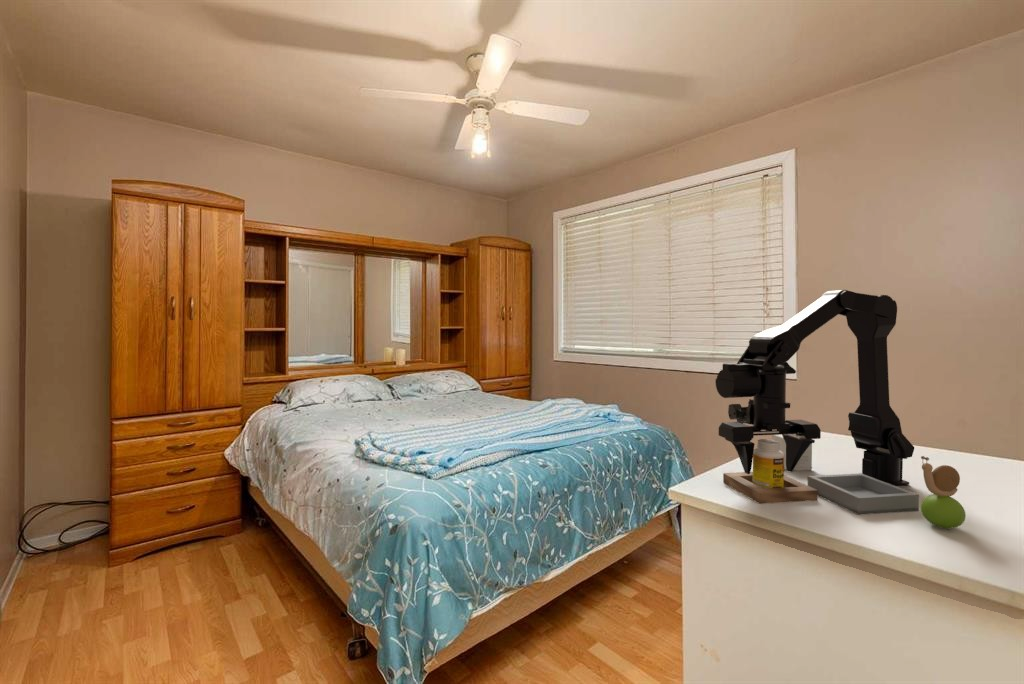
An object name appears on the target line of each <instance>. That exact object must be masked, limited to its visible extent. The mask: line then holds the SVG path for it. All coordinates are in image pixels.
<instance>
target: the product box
mask: <svg viewBox="0 0 1024 684" xmlns="http://www.w3.org/2000/svg"><path fill="white" fill-rule="evenodd" d="M771 440H775V441H778V442H780V450H779V451H781V452H783V454H784V471H785V470H786V471H787V469H786V443H785V440H784V438H783V436H782V434H781V435H771ZM812 462H813V443H811V444H810V446H809V447H808V448H807V449H806V451H805V452H804V453H803V455H802V456H801V458H800V459H799V461H798V463H797V464H796V466H795V468H794V469H793V471H811V470H812V469H813V467H812V466H813V464H812Z"/></svg>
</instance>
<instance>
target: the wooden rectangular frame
mask: <svg viewBox="0 0 1024 684" xmlns="http://www.w3.org/2000/svg"><path fill="white" fill-rule="evenodd" d="M722 474H723V483H724V484H725V483H726V484H725V485H727V486H728V487H730V486H731V488H732V489H734V490H735V489H736V490H735V491H737V492H739V493H740V492H741V493H740V494H742V495H743V496H746V497H748V498H749V499H750V500H752V501H754V502H756V503H758V504H760V505H762V504H779V503H780V504H781V503H795V502H796V503H798V502H799V503H800V502H809V501H810V502H814V501H817V502H818V500H819V498H818V497H819V496H818V490H816V489H814V488H812V487H810V486H808V484H805V483H804V482H801V481H799V480H797V479H795V478H792V477H790V476H788V475H785V474H784V487H783V488H767V489H762V488H761V487H759V486H757V485H755V484H753V471H750V474H747V473H745V471H739V472H724V473H722Z"/></svg>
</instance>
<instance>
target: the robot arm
mask: <svg viewBox="0 0 1024 684" xmlns="http://www.w3.org/2000/svg"><path fill="white" fill-rule="evenodd" d="M838 315H839V316H844V317H845V318H846V323H847V327H848V328H849V329H850V331H851V333H852V334H853V335H854V336H855V338H856V344H857V348H856V349H857V361H858V362H857V368H858V389H859V390H858V391H859V392H858V393H859V405H858V407H857V408H856V410H854V411H853V412H850V411H849V412H848V416H847V418H848V428H847V429H848V431H850V435H851V437H852V438H853V441H854V444H855V448H856V449H861V450H863V457H862V459H861V461H862V463H861V473H862V474H864V475H867V476H870V477H872V478H875V479H878V480H881V481H883V482H886V483H889V484H891V485H894V486H907V485H910V482H909V480H908V481H907V480H905V479H903V468H904V467H903V462H904V461H903V460H907V459H908V458H912V457H913V455H914V451H915V446H914V445H913V444H912V443H911V441H910V440H908V438H907V437H906V435H905V434H903V431H902V426H901V420H900V417H898V415H897V414H896V412H895V411H894V409H893V408H892V407H891V404H890V387H889V386H890V383H889V362H888V361H889V360H888V359H889V357H888V336H889V335H890V333H891V332H892V331H893V329H894V328H895V326H896V323H897V317H898V316H897V315H898V304H897V302H896V300H895V299H893V298H892V297H891V296H889V295H887V294H880V295H879V294H877V295H876V294H875V295H872V294H866V293H860V292H854V291H851V290H848V289H837V290H828V291H826V292H824V293H822V295H821V297H819V298H818V299H817V300H815V301H814V302H812V303H811V304H809V305H808V306H807V307H805V308H803V310H801V311H800V312H798V313H797V314H795V315H794V316H793V317H791V318H789V319H788V320H787V321H786V322H784V323H783V324H781V325H778V326H774V327H771V328H767V329H766V330H763V331H761V332H758V333H756V334H755V335H753V336H752V337H751V338H749V340H748V346H747V347H746V349H745V351H744V352H743V353H742V354H741V356H740V358H739V360H738V361H737V363H723V364H722V369H720V371H719V372H718V374H717V375H716V378H715V388H716V391H717V393H718V394H719V395H720V397H722V398H723V399H730V398H731V399H732V398H749V400H748V403H747V404H748V406H742V405H741V404H740V403H731V404H728V412H727V413H728V417H729V420H732V421H729V422H728V421H725V422H724V421H723V422H721V423H720V425H719V426H718V437H721V438H724V439H725V441H726V442H727V441H728V442H730V443H731V444H732V445H733V446H734V449H735V450H736V452H737V455H738V458H739V460H740V463H741V465H742V468H743V472H745V473H747V474H750V472H752V468H753V452H754V449H755V443H754V442H753V441H752V440H753V439H754V437H755V436H772V435H781V434H782V436H783V438H784V440H785V443H786V469H787V470H786V471H787V472H789V473H792V472H793V471H794V470H793V469H794V468H795V466H796V464H797V463H798V461H799V459H800V458H801V456H802V455H803V453H804V452H805V451H806V449H807V448H808V447H809V446H810V444H811V443H812V444H815V442H816V440H819V439H821V436H822V435H821V434H822V433H821V431H822V430H821V428H820V427H819V425H818V424H817V423H816V422H815V423H814V422H811V421H807V420H804V419H786V413H787V412H786V409H791V403H790V402H787V401H786V395H787V375H791V374H793V375H794V374H796V373H797V370H795V368H793V367H792V366H791V365H790V364H789V363H788V361H789V360H790V359H791V358H793V356H794V355H796V353H797V352H798V351H799V350H800V347H801V343H802V342H803V341H804V340H805V339H806V338H808V337H809V336H811V335H812V334H813V333H814V332H816V331H817V330H819V329H820V328H822V327H823V326H824V325H826V324H827V323H828V322H830V321H831V320H832V319H834V318H835V317H837V316H838ZM752 397H753V398H752ZM750 398H751V399H750ZM733 420H736V421H733Z"/></svg>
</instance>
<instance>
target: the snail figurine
mask: <svg viewBox="0 0 1024 684" xmlns="http://www.w3.org/2000/svg"><path fill="white" fill-rule="evenodd" d="M920 458H921V459H922V460H925V461H926V462H923V463H922V465H921V470H922V471H923V480H924V483H925V487H926V489H927V490H928V492H930V493H931V494H930V495H928V496H926V497H924V499H923V500H922V501H921V504H920V512H921V514H922V515H923V517H924V518H925V520H926V521H928V523H930V524H931V525H933V526H935V527H937V528H941V529H944V530H945V529H947V530H949V529H956V528H958V527H961V525H963V523H964V522H965V521H966V510H965V508H964V507H963V505H962V504H961V502H959V501H958V500H956V498H954V497H952V496H954V495H955V494H956V493H958V490H959V489H958V487H959V485H960V482H961V476H960V474H959V471H958V470H957V469H956V468H955V467H953V466H950V465H946V464H943V465H940V466H936V467H935V468H934V469H933V465H932V464H931V463H928V461H929V460H930V458H929V457H928V456H925V455H922V456H920Z"/></svg>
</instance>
